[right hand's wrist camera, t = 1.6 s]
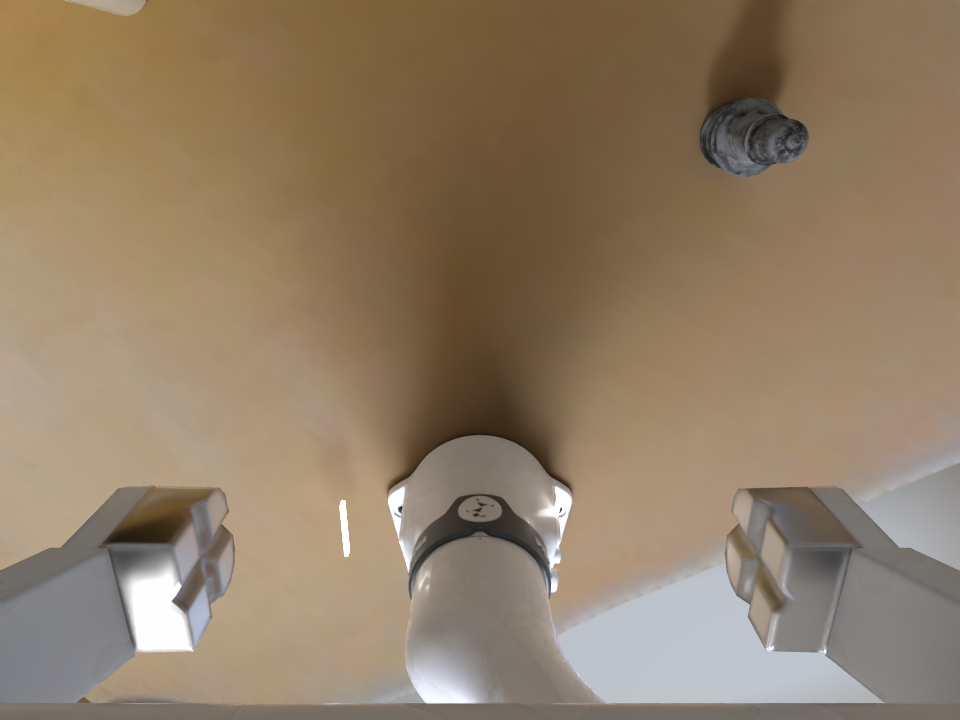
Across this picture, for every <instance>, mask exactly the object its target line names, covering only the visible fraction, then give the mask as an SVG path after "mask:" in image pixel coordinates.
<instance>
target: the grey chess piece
mask: <svg viewBox="0 0 960 720" xmlns="http://www.w3.org/2000/svg"><path fill="white" fill-rule="evenodd" d="M808 139H809V136H808V131H807V128H806V127H805V126H804V125H803V124H802V123H801V122H799V121H797V120H793V119H788V118H787V117H785V116H784V115H783V113H782V112H781V110H780V109H779V108H778V107H777V106H776V105H775V104H774V103H772V102H770V101H769V100H766V99H763V98H759V97H758V98H746V99H743V100H739V101H737V102H734V103H729V104H725V105H723V106H721V107H719V108H718V109H716V110H715V111H714V112H713V113H712V114H711V115H710V116H709V117H708V119H707V120H706V122H705V123H704V126H703V129H702V132H701V139H700V143H701V149H702V152H703V154H704V156H705V158H706V159H707V160H708V161H709V162H710V163H711V164H712V165H714V166H716V167H718V168H721V169H722V170H724V171H725V172H727V173H729V174H731V175H735V176H739V177H749V176H752V175H756V174H759V173H761V172H763V171H764V170H766V169H768V168H769V167H770V166H771V165H772V164H776V163H777V162H778V163H787V162H790V161H793V160H795V159H797V158H798V157H799V156H800V155H801V154H802V153H803V152H804V150H805V149H806V147H807V144H808Z"/></svg>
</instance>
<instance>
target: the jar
mask: <svg viewBox="0 0 960 720" xmlns="http://www.w3.org/2000/svg"><path fill="white" fill-rule="evenodd" d="M64 1H67V2H71V3H75V4H78V5H82V6H86V7H90V8H93V9H97V10H101V11H104V12H108V13H112V14H116V15H120V16H129V15H133V14H135V13H137V12H138V11H139V10H140V9H141V8H142V7H143V6H144V5H145V3H146V0H64Z"/></svg>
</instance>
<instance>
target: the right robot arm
mask: <svg viewBox="0 0 960 720" xmlns="http://www.w3.org/2000/svg"><path fill="white" fill-rule="evenodd" d="M388 504H389V508H390V511H391V514H392V518H393V521H394V525H395V528H396V532H397V535H398V538H399V542H400V545H401V549H402V552H403V555H404V559H405V562H406V566H407V569H408V573H409V575H408V578H409V594H410V599H411V606H410V613H409V621H408V628H407V635H406V642H405V662H406V667H407V671H408V674H409V677H410V679H411V681H412V683H413V685H414V686H415V688H416V690H417V691H418V693H419V694H420V696H421V697H422V699H423V700H424V702H425V703H76V702H77V701H78V700H80V699H81V698H82V697H83V696H85V695H86V694H87V693H88V692H90V691H91V690H92V689H93V688H95V687H96V686H97V685H98V684H100V683H101V682H102V681H103V680H105V679H106V678H107V677H108V676H110V675H111V674H112V673H113V672H115V671H116V670H117V669H118V668H120V667H121V666H122V665H123V664H125V663H126V662H127V661H128V660H130V659H131V658H132V657H133V656H134V653H140V652H175V651H194V649H195V648H196V646H197V644H198V642H199V640H200V638H201V637H202V635H203V633H204V631H205V629H206V627H207V625H208V624H209V622H210V620H211V618H212V614H211V608H210V604H212V603H213V602H215V601H216V600H218V599H219V598H221V597H222V596H223V595H224V593H225V591H226V589H227V587H228V585H229V583H230V581H231V577H232V572H233V568H234V562H235V547H234V541H233V535H232V534H231V533H230V532H229V531H228V530H227V529H226V528H225V527H224V526H223V525H222V524H221V523H222V521H223V520H224V518H225V517H226V515H227V513H228V512H229V511H228V506H227V501H226V496H225V493H224V492H223V491H222V490H221V489H220V488H212V487H162V486H158V487H155V486H127V487H122V488H118V489H117V491H116V492H115V493H114V494H113V495H112V496H111V497H110V498H109V499H108V500H107V501H106V502H105V503H104V504H103V505H102V506H101V507H100V508H99V509H98V510H97V511H96V512H95V513H94V514H93V515H92V516H91V517H90V518H89V519H88V520H87V521H86V522H85V523H84V524H83V525H82V526H81V527H80V528H79V529H78V530H77V531H76V532H75V534H74V535H73V536H72V537H71V538H70V539H69V540H68V541H67V542H66V543H65V544H64V545H63V546H62V547H61V548H49V549H47V550H44V551H42V552H40V553H38V554H36V555H33V556H31V557H29V558H27V559H25V560H23V561H20V562H18V563H16V564H14V565H12V566H9V567H7V568H5V569H3V570H1V571H0V720H960V571H959V570H957V569H955V568H953V567H950V566H948V565H946V564H944V563H942V562H939V561H937V560H935V559H933V558H931V557H929V556H926V555H924V554H922V553H920V552H918V551H916V550H913V549H911V548H899V547H898V546H897V545H896V544H895V543H894V542H893V541H892V540H891V539H890V538H889V537H888V535H886V533H885V532H884V531H883V530H882V529H881V528H880V527H879V526H878V525H877V524H876V523H875V522H874V521H873V520H872V519H871V518H870V517H869V516H868V515H867V514H866V513H865V512H864V511H863V510H862V509H861V508H860V507H859V506H858V505H857V504H856V503H855V502H854V501H853V500H852V499H851V497H850V496H849V495H848V494H847V493H846V492H845V491H844V490H843V489H841V488H838V487H836V486H814V487H787V488H747V489H738V490H737V492H736V494H735V496H734V499H733V505H732V510H731V512H732V513H733V515H734V517H735V518H736V520H737V521H738V523H739V524H738V525H737V526H736V527H735V528H734V529H733V530H732V531H731V532H730V533H729V534H728V535H727V542H726V550H725V558H726V569H727V574H728V577H729V580H730V584H731V586H732V587H733V589H734V591H735V593H736V595H737V596H738V597H740V598H741V599H742V600H744V601H746V602H747V603H749V604H750V608H749V614H748V618H749V620H750V622H751V623H752V625H753V627H754V629H755V631H756V633H757V635H758V636H759V638H760V640H761V642H762V644H763V646H764V648H765V649H766V651H784V652H821V653H826V656H827V657H828V658H829V659H831V660H832V661H833V662H834V663H836V664H837V665H838V666H839V667H841V668H842V669H843V670H844V671H846V672H847V673H848V674H849V675H851V676H852V677H853V678H854V679H856V680H857V681H858V682H859V683H861V684H862V685H863V686H864V687H866V688H867V689H868V690H869V691H871V692H872V693H873V694H874V695H876V696H877V697H878V698H879V699H881V700H882V701H883V702H884V703H607V702H605V701H604V700H603V699H602V698H601V697H600V696H599V695H598V694H597V693H595V692H594V691H593V690H592V689H591V688H590V687H589V686H588V685H587V684H586V682H585V681H584V680H583V679H582V678H581V677H580V676H579V675H578V673H577V672H576V671H575V670H574V668H573V667H572V666H571V664H570V663H569V661H568V660H567V658H566V657H565V655H564V653H563V651H562V649H561V647H560V645H559V642H558V638H557V635H556V631H555V627H554V623H553V619H552V615H551V609H550V604H549V599H550V594H551V592H555V591H556V589H557V585H558V570H557V569H556V568H553V566H554V563H560V559H561V550H560V549H559V545H560V542H561V538H562V535H563V532H564V528H565V525H566V521H567V518H568V515H569V511H570V508H571V504H572V493H571V491H570V489H569V488H568V487H566V486H565V485H564V484H562V483H560V482H559V481H557V480H555V479H553V478H552V477H550V476H549V475H548V474H547V473H546V471H545V470H544V469H543V467H542V466H541V464H540V463H539V462H538V460H537V459H536V458H535V457H534V456H533V455H532V454H531V453H530V452H528V451H527V450H526V449H524V448H523V447H521V446H520V445H518V444H516V443H514V442H512V441H509V440H507V439H504V438H500V437H496V436H489V435H471V436H464V437H460V438H456V439H453V440H451V441H448V442H446V443H444V444H442V445H440V446H439V447H437V448H436V449H434V450H433V451H432V452H430V453H429V454H428V455H427V456H426V457H425V458H424V459H423V460H422V462H421V463H420V464H419V466H418V467H417V469H416V470H415V471H414V473H413V474H412V475H411V476H410V477H408V478H407V479H405V480H403V481H401V482H400V483H398V484H396V485H395V486H394V487H392V488H391V489H390V491H389V493H388ZM400 506H403V507H402V509H401V508H399V507H400ZM560 507H561V508H560ZM340 513H341V523H342V533H343V543H344V553H345V556H348V554H349V551H350V550H349V539H348V529H347V518H346V507H345V500H342V501H341V504H340Z"/></svg>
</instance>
